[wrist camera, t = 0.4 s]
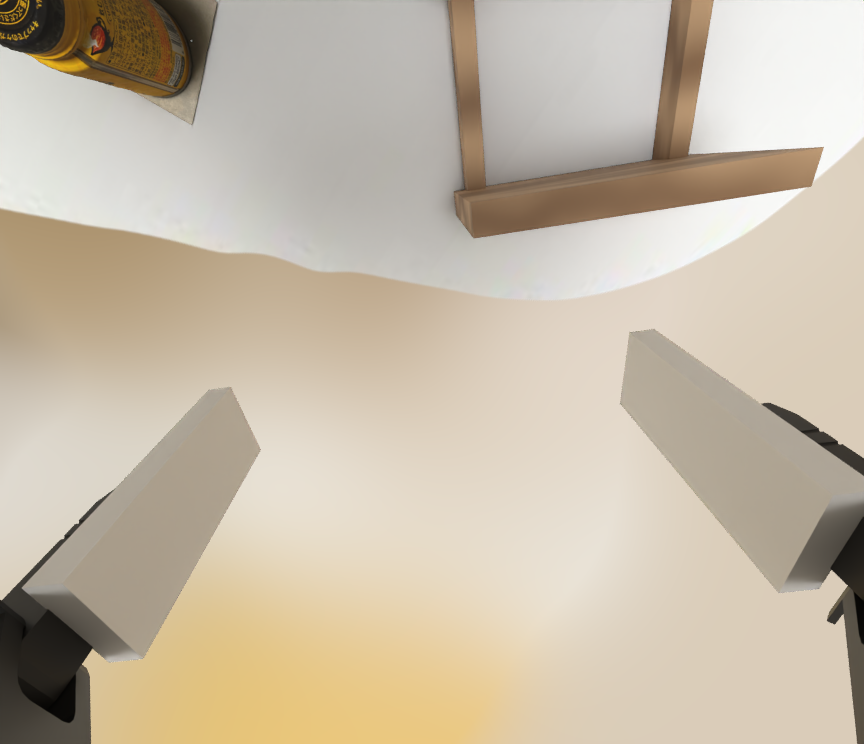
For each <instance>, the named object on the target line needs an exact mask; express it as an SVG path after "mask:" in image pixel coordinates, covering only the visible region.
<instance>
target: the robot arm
mask: <svg viewBox="0 0 864 744" xmlns="http://www.w3.org/2000/svg"><path fill="white" fill-rule="evenodd" d="M620 404H621V405H622V406H623V408H624V409H625V410H626V411H627V412H628V414H629V415H630V416H631V417H632V418H633V420H634V421H635V422H636V423H637V424H638V426H639V427H640V428H641V429H642V430H643V431H644V433H645V434H646V435H647V436H648V437H649V439H650V440H651V441H652V442H653V443H654V445H655V446H656V447H657V448H658V449H659V451H660V452H661V453H662V454H663V455H664V457H665V458H666V459H667V460H668V461H669V463H670V464H671V465H672V466H673V467H674V468H675V470H676V471H677V472H678V473H679V475H680V476H681V477H682V478H683V479H684V480H685V482H686V483H687V484H688V485H689V487H690V488H691V489H692V490H693V491H694V493H695V494H696V495H697V496H698V497H699V498H700V500H701V501H702V502H703V503H704V504H705V506H706V507H707V508H708V509H709V510H710V512H711V513H712V514H713V515H714V516H715V518H716V519H717V520H718V521H719V522H720V523H721V525H722V526H723V527H724V528H725V530H726V531H727V532H728V533H729V534H730V536H731V537H732V538H733V539H734V540H735V541H736V543H737V544H738V545H739V546H740V547H741V549H742V550H743V551H744V552H745V553H746V555H747V556H748V557H749V558H750V559H751V561H752V562H753V563H754V564H755V565H756V567H757V568H758V569H759V570H760V571H761V572H762V574H763V575H764V576H765V577H766V579H767V580H768V581H769V582H770V583H771V584H772V586H773V587H774V588H775V589H776V591H777V592H778V593H784V592H794V591H804V590H813V589H819V588H820V586H821V585H822V583H823V582H824V580H825V579H826V577H827V576H828V574H829V572H830V571H831V570H833V571H834V572H835V573H836V574H837V575H838V576H839V577H840V578H841V579H842V580H843V581H844V582H845V583H846V584H847V585H848V586H847V588H846V589H845V591H844V592H843V593H842V595H841V596H840V598H839V599H838V601H837V602H836V603H835V605H834V606H833V608H832V609H831V611H830V612H829V615H828V619H827V621H828V622H830V623H833V624H836V622H837V621H838V620H839V618H840V617H841V615H843V614H844V619H845V628H846V638H847V648H848V658H849V667H850V677H851V686H852V697H853V705H854V715H855V724H856V735H857V744H864V458H862V457H861V456H859V455H858V454H856V453H855V452H853V451H852V450H850V449H849V448H847V447H846V446H844V445H843V444H842V445H839V444H838V441H836V440H835V439H834V438H832V437H831V436H829V435H828V434H826V433H824V432H820V431H819V428H817V427H815V426H814V425H813V424H811V423H810V422H808V421H807V420H805V419H803V418H802V417H800V416H799V415H797V414H795V413H793V412H791V411H788V410H786V409H783V408H781V407H778V406H776V405H774V404H771V403H763V404H760V403H759V402H757V401H756V400H754V399H753V398H752V397H750V396H749V395H747V394H746V393H745V392H743V391H742V390H740V389H739V388H737V387H736V386H735V385H733V384H732V383H730V382H729V381H728V380H726V379H725V378H723V377H721V376H720V375H719V374H717V373H716V372H715V371H713V370H712V369H710V368H709V367H708V366H706V365H704V364H703V363H702V362H700V361H699V360H698V359H696V358H695V357H693V356H692V355H690V354H689V353H687V352H686V351H685V350H683V349H682V348H680V347H679V346H678V345H676V344H675V343H673V342H672V341H670V340H669V339H667V338H666V337H665V336H663V335H662V334H660V333H659V332H658V331H656V330H655V329H651V330H644V331H636V332H630V333H629V341H628V349H627V356H626V363H625V371H624V378H623V386H622V393H621V401H620ZM260 450H261V449H260V447H259V445H258V443H257V441H256V439H255V437H254V435H253V432H252V430H251V428H250V426H249V424H248V422H247V420H246V418H245V416H244V414H243V411H242V409H241V407H240V405H239V403H238V401H237V399H236V397H235V395H234V393H233V391H232V389H231V387H227V388H219V389H212V390H208V391H207V392H206V393H205V394H204V396H203V397H201V399H200V400H199V401H198V402H197V403H196V404H195V405H194V406H193V407H192V408H191V409H190V410H189V411H188V412H187V413H186V414H185V416H184V417H183V418H182V419H181V420H180V421H179V422H178V423H177V424H176V425H175V426H174V427H173V428H172V429H171V430H170V431H169V432H168V434H167V435H166V436H165V437H164V438H163V439H162V440H161V441H160V442H159V443H158V444H157V445H156V446H155V447H154V448H153V449H152V450H151V451H150V453H149V454H148V455H147V456H146V457H145V458H144V459H143V460H142V461H141V462H140V463H139V464H138V465H137V466H136V468H134V469H133V471H132V472H131V473H130V474H129V475H128V476H127V477H126V478H125V479H124V480H123V481H122V482H121V483H120V484H119V485H118V486H117V487H116V488H115V489H114V490H113V491H111V492H110V493H108V494H107V495H106V496H104V497H103V498H102V499H100V500H99V501H98V502H96V503H95V504H94V505H93V506H92V507H91V509H89V511H88V512H87V513H86V514H85V515H84V516H83V517H82V518H81V519H80V520H79V524H75V525H74V526H73V527H72V528H71V529H70V530H69V531H68V532H67V534H65V538H64V539H62V540H60V541H59V542H58V543H57V544H56V545H55V546H54V547H53V548H52V549H51V550H50V551H49V552H48V553H47V554H46V555H45V556H44V557H43V558H42V560H40V562H39V563H37V565H36V566H35V567H34V568H33V569H32V570H31V571H30V572H29V573H28V574H27V575H26V576H25V577H24V578H23V579H22V580H21V581H20V582H19V583H18V584H17V585H16V586H15V587H14V588H13V589H12V590H11V592H10V593H9V594H8V595H7V596H6V597H5V598H4V599H3V600H2V601H1V600H0V744H91V726H90V725H91V724H90V723H91V721H90V676H89V673H88V671H87V668H85V667H84V666H83V665H82V663H83V662H84V660H85V659H86V657H87V656H88V654H89V653H90V651H91V650H92V649H94V650H95V651H96V652H97V653H98V654H100V655H101V656H102V657H103V658H104V659H105V660H107V661H108V662H118V661H128V660H138V659H143V658H144V656H145V655H146V653H147V651H148V649H149V648H150V646H151V644H152V642H153V640H154V639H155V637H156V635H157V633H158V632H159V630H160V628H161V626H162V624H163V623H164V621H165V619H166V617H167V615H168V614H169V612H170V610H171V608H172V607H173V605H174V603H175V601H176V599H177V598H178V596H179V594H180V592H181V591H182V589H183V587H184V585H185V584H186V582H187V580H188V578H189V576H190V575H191V573H192V571H193V569H194V567H195V566H196V564H197V562H198V560H199V559H200V557H201V555H202V553H203V552H204V550H205V548H206V546H207V544H208V543H209V541H210V539H211V537H212V536H213V534H214V532H215V530H216V528H217V527H218V525H219V523H220V521H221V520H222V518H223V516H224V514H225V513H226V510H227V509H228V507H229V505H230V504H231V502H232V500H233V498H234V497H235V495H236V493H237V491H238V489H239V487H240V486H241V484H242V482H243V481H244V479H245V477H246V475H247V473H248V472H249V470H250V468H251V466H252V465H253V463H254V461H255V459H256V457H257V456H258V454H259V452H260Z"/></svg>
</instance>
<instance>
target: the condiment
mask: <svg viewBox="0 0 864 744" xmlns="http://www.w3.org/2000/svg"><path fill="white" fill-rule="evenodd" d="M216 5H217V2H216V1H214V0H0V44H1V45H2V46H4V47H7V48H9V49H11V50H15V51H19V52H23V53H26V54H28V55H30V56H32V57H33V58H35V59H36V60H38V61H39V62H40V63H43V64H45V65H46V66H48V67H50V68H53V69H56V70H58V71H60V72H64V73H67V74H71V75H74V76H79V77H84V78H87V79H91V80H95V81H98V82H102V83H105V84H108V85H112V86H115V87H119V88H124V89H127V90H131V91H133V92H135V93H137V94H139V95H140V96H142V97H144V98H146V99H147V100H149V101H151V102H153V103H154V104H156V105H158V106H160V107H161V108H163V109H165V110H167V111H168V112H170V113H172V114H173V115H175V116H177V117H179V118H180V119H182V120H184V121H186V122H187V123H189V124H191V125H192V122H193V118H194V113H195V109H196V105H197V101H198V94H199V91H200V87H201V81H202V77H203V71H204V66H205V58H206V53H207V50H208V46H209V41H210V37H211V32H212V25H213V18H214V14H215V10H216ZM190 40H192V42H191V41H190Z"/></svg>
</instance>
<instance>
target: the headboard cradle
mask: <svg viewBox="0 0 864 744" xmlns="http://www.w3.org/2000/svg"><path fill="white" fill-rule="evenodd" d="M713 1H714V0H672V7H671V15H670V23H669V31H668V39H667V47H666V54H665V62H664V70H663V78H662V86H661V94H660V102H659V110H658V118H657V126H656V134H655V142H654V150H653V157H652V160H647V161H641V162H635V163H629V164H623V165H616V166H610V167H604V168H598V169H591V170H585V171H579V172H573V173H566V174H560V175H554V176H548V177H541V178H535V179H529V180H523V181H516V182H510V183H504V184H498V185H491V186H486V182H485V167H484V152H483V136H482V121H481V106H480V90H479V75H478V59H477V44H476V29H475V13H474V0H448V7H449V18H450V29H451V40H452V51H453V62H454V73H455V85H456V96H457V107H458V118H459V129H460V140H461V151H462V163H463V174H464V185H465V190H460V191H454V198H455V207H456V216H457V217H458V218H459V220H460V221H461V222H462V223H463V225H464V226H465V227H466V229H467V230H468V231H469V233H470V234H471V235H472V237H473V238H480V237H486V236H493V235H499V234H506V233H512V232H519V231H525V230H532V229H538V228H545V227H551V226H558V225H564V224H571V223H577V222H584V221H590V220H597V219H603V218H610V217H616V216H623V215H629V214H635V213H642V212H648V211H655V210H661V209H668V208H674V207H681V206H687V205H694V204H700V203H707V202H713V201H720V200H726V199H733V198H739V197H746V196H752V195H759V194H765V193H772V192H778V191H785V190H791V189H798V188H804V187H811V186H812V183H813V179H814V176H815V173H816V170H817V167H818V164H819V161H820V157H821V154H822V151H823V148H824V147H818V148H800V149H782V150H764V151H746V152H728V153H710V154H692V155H688V152H689V146H690V140H691V134H692V128H693V122H694V116H695V110H696V103H697V97H698V91H699V85H700V79H701V73H702V67H703V61H704V55H705V49H706V43H707V37H708V31H709V25H710V19H711V13H712V7H713Z"/></svg>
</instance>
